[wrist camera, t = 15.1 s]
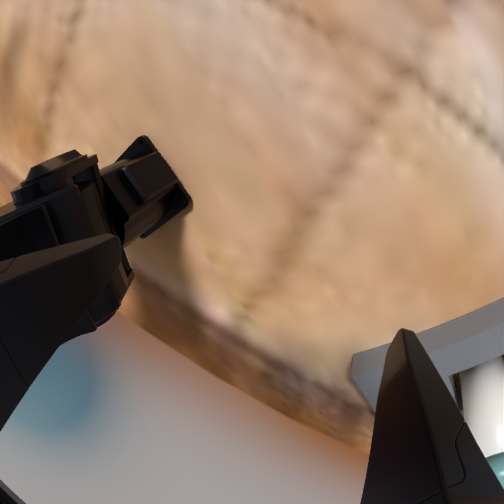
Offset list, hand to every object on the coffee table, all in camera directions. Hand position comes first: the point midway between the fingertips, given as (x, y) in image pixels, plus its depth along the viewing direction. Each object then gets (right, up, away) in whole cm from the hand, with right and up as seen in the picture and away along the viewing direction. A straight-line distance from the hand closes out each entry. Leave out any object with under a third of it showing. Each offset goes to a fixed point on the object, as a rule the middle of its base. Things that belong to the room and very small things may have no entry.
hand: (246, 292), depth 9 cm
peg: (+20, -9, +13) cm, 26 cm away
